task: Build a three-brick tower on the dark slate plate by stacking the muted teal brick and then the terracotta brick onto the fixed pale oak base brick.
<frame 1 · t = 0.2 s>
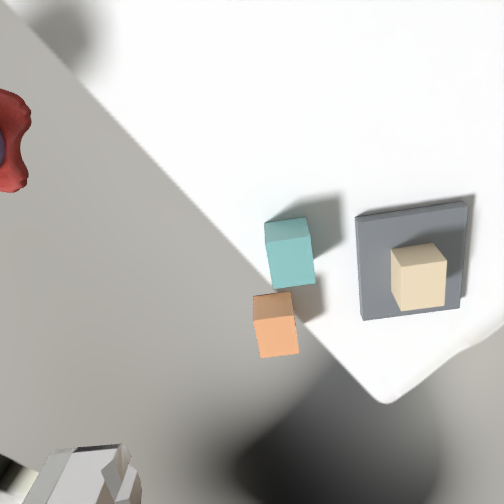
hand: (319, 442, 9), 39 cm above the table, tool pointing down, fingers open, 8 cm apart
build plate: (407, 261, 51), on the table
teal brick: (288, 242, 50), on the table
terracotta brick: (275, 311, 55), on the table
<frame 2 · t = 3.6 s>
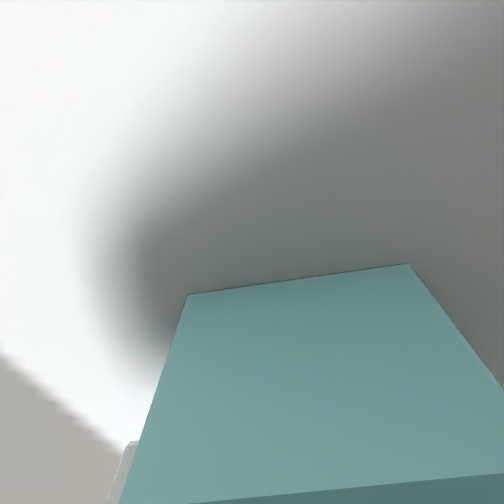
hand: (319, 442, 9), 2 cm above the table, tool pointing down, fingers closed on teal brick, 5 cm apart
teal brick: (311, 388, 10), on the table, touching gripper
when the fingers open (8 cm above the table, at t = 9.3 s): teal brick stays where it is, resting on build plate.
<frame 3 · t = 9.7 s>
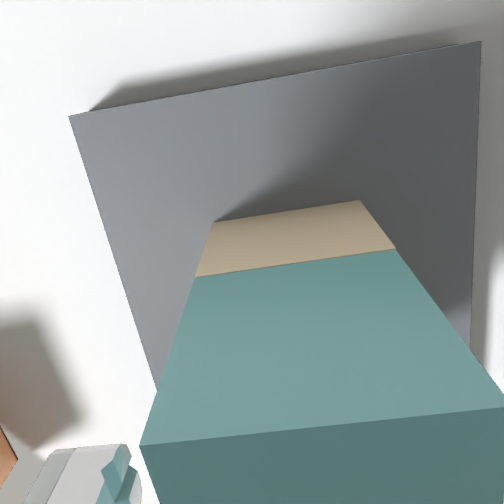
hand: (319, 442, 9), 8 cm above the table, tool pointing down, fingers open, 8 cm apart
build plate: (293, 273, 16), on the table
teal brick: (307, 365, 11), point 5 cm above the table, touching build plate
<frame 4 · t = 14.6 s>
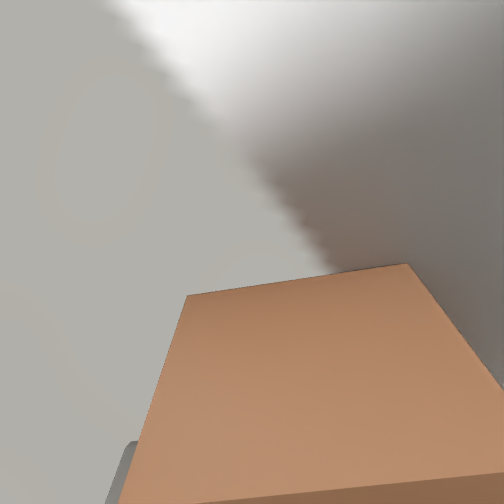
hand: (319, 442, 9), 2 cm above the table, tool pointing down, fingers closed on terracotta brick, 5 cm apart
terracotta brick: (311, 388, 10), on the table, touching gripper
when the fingers open (13 cm above the table, at t = 20.1 s): terracotta brick stays where it is, resting on teal brick.
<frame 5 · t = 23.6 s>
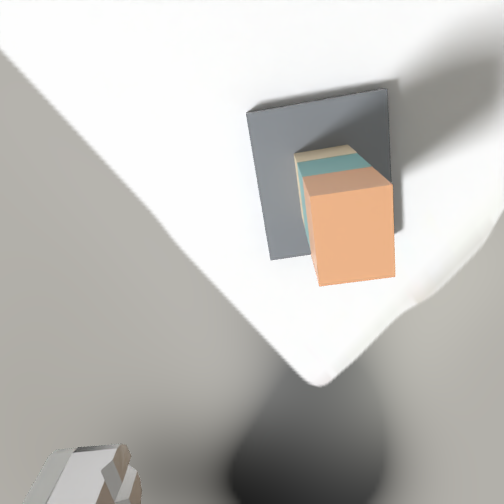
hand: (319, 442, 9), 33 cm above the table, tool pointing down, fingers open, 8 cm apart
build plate: (321, 178, 40), on the table
teal brick: (330, 194, 35), point 5 cm above the table, touching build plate, terracotta brick
terracotta brick: (340, 212, 30), point 10 cm above the table, touching teal brick
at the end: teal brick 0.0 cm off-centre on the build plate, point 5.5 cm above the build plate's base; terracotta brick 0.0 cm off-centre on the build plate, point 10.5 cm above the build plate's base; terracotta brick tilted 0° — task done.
